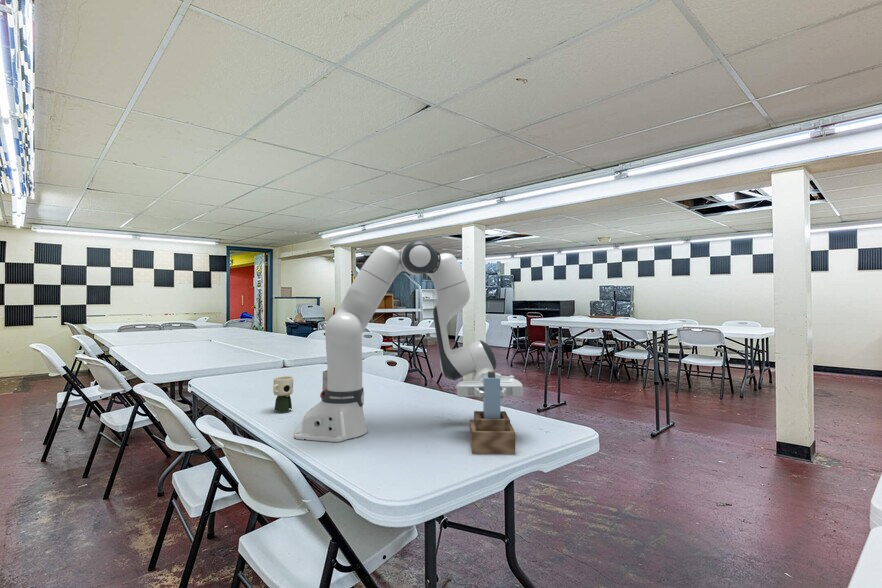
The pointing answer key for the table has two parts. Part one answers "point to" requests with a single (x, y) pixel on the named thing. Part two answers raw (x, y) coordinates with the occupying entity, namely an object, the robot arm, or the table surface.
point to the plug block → (491, 396)
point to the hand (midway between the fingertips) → (491, 394)
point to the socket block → (492, 435)
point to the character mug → (283, 393)
